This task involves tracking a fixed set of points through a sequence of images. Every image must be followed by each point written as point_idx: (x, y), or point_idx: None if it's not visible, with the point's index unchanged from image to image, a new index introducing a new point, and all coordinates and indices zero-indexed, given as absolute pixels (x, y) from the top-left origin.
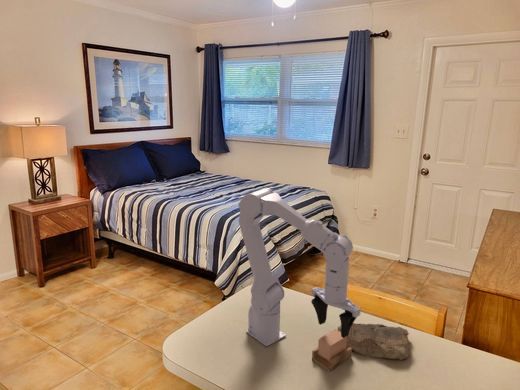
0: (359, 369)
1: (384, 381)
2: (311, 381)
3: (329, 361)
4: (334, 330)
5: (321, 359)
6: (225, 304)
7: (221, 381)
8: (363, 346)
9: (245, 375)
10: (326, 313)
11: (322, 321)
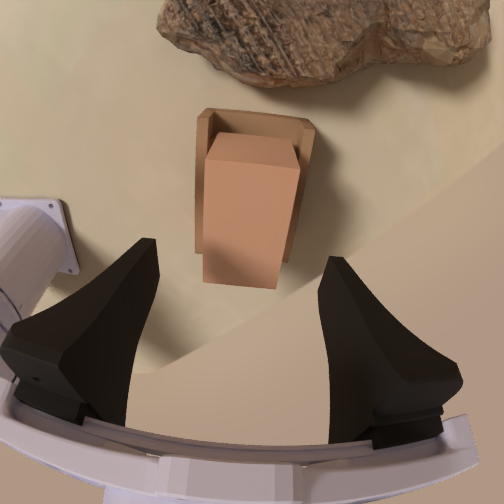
0: (365, 165)
1: (445, 170)
2: (264, 296)
3: (282, 260)
4: (211, 176)
5: None
6: None
7: (140, 370)
8: (348, 70)
9: (147, 349)
10: (132, 272)
11: (153, 274)
